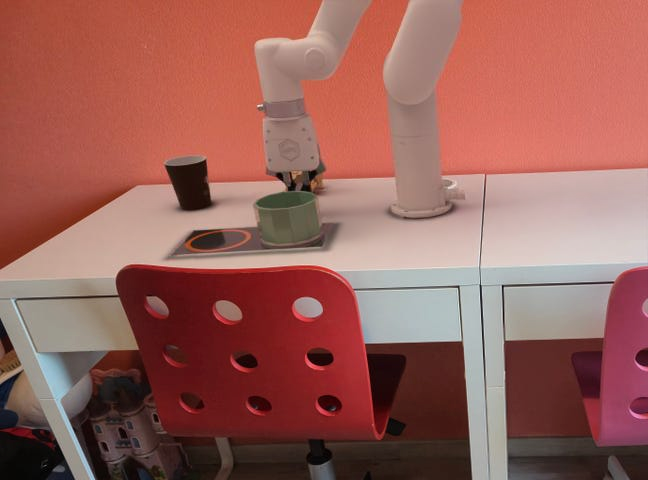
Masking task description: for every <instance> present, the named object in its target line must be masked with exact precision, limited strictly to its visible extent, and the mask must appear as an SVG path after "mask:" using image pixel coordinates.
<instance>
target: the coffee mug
mask: <svg viewBox="0 0 648 480" xmlns="http://www.w3.org/2000/svg"><path fill="white" fill-rule="evenodd" d="M163 165H164V167H165V171H166V172H167V173H166V174H167V176H168V178H169V180H170V181H169V182H170V183H171V186H172V188H173V190H174V191H173V192H174V193H175V195H176V199H177V202H178V203H179V206H180V209H181V210H182V211H183V210H184V211H197V210H199V211H200V210H203V209H207V208H208V207H211V206H212V198H211V197H212V196H211V187H210V179H209V171H208V163H207V157H206V156H205V155H185V156H177V157H173V158H169V159H167V160H165V161H164V162H163Z"/></svg>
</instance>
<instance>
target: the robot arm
mask: <svg viewBox="0 0 648 480" xmlns="http://www.w3.org/2000/svg"><path fill="white" fill-rule="evenodd" d="M321 1H322V2H321V4H320V6H319V9H318V11H317V13H316V16H315V18H314V20H313V23H312V25H311V27H310V29H309V31H308V33H307V36H306V37H304V38H298V39H291V38H289V37H270V38H269V37H268V38H262V39H259V40H257V41H256V42H255V43H254V48H253V49H254V56H255V62H256V67H257V72H258V77H259V83H260V87H261V94H262V99H263V101H262V102H261V103H258V104H257V105H256V108H257V111H258V112H259V113H260V112H262V113H264V115H265V117H264V118H262V138H263V139H262V140H263V148H264V156H265V162H266V163H265V164H266V168H265V175H267V176H271V177H273V178H277V179H278V180H279V181H281V182H282V183H283V184H284V186H285V185H286V186H287V188H288V191H292V190H293V189H294V188H295V186H296V185H297V184H296V182H294V180H293V176H292V171H302V176H303V185H302V191H305V192H312V189H311V181H312V180H313V179H314V177H315V176H316V175H319V174H321V173H322V174H323V173H325V172H326V171H327V169H328V167H327V165H326V163H325V162H324V159H323V158H322V152H321V149H320V148H321V147H320V142H319V140H318V136H317V135H318V134H317V131H316V127H315V124H314V121H313V119H312V116H311V114H310V113H308V112H307V106H306V100H305V94H304V88H303V81H302V80H305V81H315V82H319V81H325V80H327V79H329V78H331V77H332V76H333V75H334V74H335V73H336V71H337V69H338V68H339V66H340V65H341V63H342V61H343V58H344V57H345V54H346V52H347V49H348V47H349V45H350V43H351V41H352V39H353V36H354V34H355V32H356V30H357V28H358V26H359V24H360V22H361V20H362V18H363V16H364V14H365V13H366V11H367V10H368V8H369V7H370V6H371V3H372V2H373V0H321ZM464 2H465V0H408V3H407V7H406V10H405V13H404V15H403V18H402V21H401V24H400V26H399V29H398V30H397V32H396V33H397V34H396V36H395V39H394V41H393V44H392V46H391V49H390V50H389V51H388V53H387V55H386V56H385V59H384V61H383V67H382V80H383V84H384V87H385V94H386V101H387V103H386V104H387V111H388V121H389V132H390V143H391V151H392V161H393V170H394V179H395V188H396V189H395V190H396V200H394V201H393V202H392V203H391V204H390V212H391V213H393V214H395V215H398V216H401V217H403V218H408V219H409V218H410V219H417V218H418V219H421V218H430V217H436V216H440V215H443V214H445V213H447V212H448V211H450V210H451V209H452V207H453V205H452V201H453V200H457V201H463V200H465V201H466V190H465V189H460V188H459V187H457V188H449V187H445V186H446V185H445V182H443V172H442V170H443V169H442V157H441V143H440V142H441V141H440V131H439V130H440V129H439V128H440V127H439V114H438V102H437V90H436V89H437V88H436V86H437V83H438V82H439V79H440V77H441V75H442V72H443V71H444V68H445V65H446V63H447V61H448V58H449V56H450V54H451V52H452V49H453V47H454V45H455V43H456V40H457V38H458V35H459V32H460V29H461V25H462V20H463V19H462V18H463V13H462V7H463V3H464ZM311 170H312V171H311ZM286 186H285V187H286ZM312 193H313V192H312Z"/></svg>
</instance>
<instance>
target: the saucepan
mask: <svg viewBox="0 0 648 480" xmlns="http://www.w3.org/2000/svg"><path fill="white" fill-rule="evenodd" d="M302 185H303V183H297V185H296V186H295V188H294V189H293V190H292V191H279V192H273V193H270V194H269V193H268V194H266V195H264V196H261V197H259V198H257V199H255V200H254V202H253V203H252V206H253V207H252V208H253V211H254V216H255V221H256V227H258V231H259V236H260V238H261V240H262V242H263V243H264V244H267V245H270V246H294V245H300V244H304V243H308V242H311V241H313V240H316V239H317V238H319V237H320V236H321V235H322V233H323V232H322V230H323V226H322V223H323V221H322V213H321V208H320V207H321V206H320V201H319V196H318V195H317V194H315V193H314V192H305V191H302Z"/></svg>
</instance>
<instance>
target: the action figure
mask: <svg viewBox="0 0 648 480" xmlns="http://www.w3.org/2000/svg"><path fill="white" fill-rule="evenodd" d="M311 171H312V170H311ZM292 176H293V180H294V182H296V184H297V183H303V176H302V171H292ZM323 179H324V174H323V173H321V174H319V175H316V176H315V177H314V179H313V180H312V181H311V189H312V193H314V192H315V191H316V190H317V189H323V187H324V182H323ZM284 186H285V188H284V192H287V191H288V188H287V186H286V185H285V184H284Z"/></svg>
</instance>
